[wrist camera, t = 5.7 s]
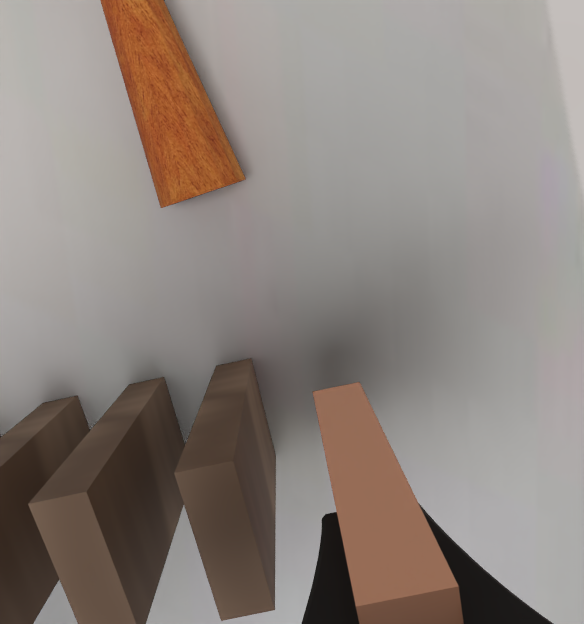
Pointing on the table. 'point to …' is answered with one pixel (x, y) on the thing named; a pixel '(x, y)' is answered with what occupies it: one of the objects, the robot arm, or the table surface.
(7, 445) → the walnut tile
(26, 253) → the table surface
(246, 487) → the walnut tile
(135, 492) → the walnut tile
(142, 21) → the purple and orange maraca
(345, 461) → the terracotta tile
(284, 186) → the table surface
